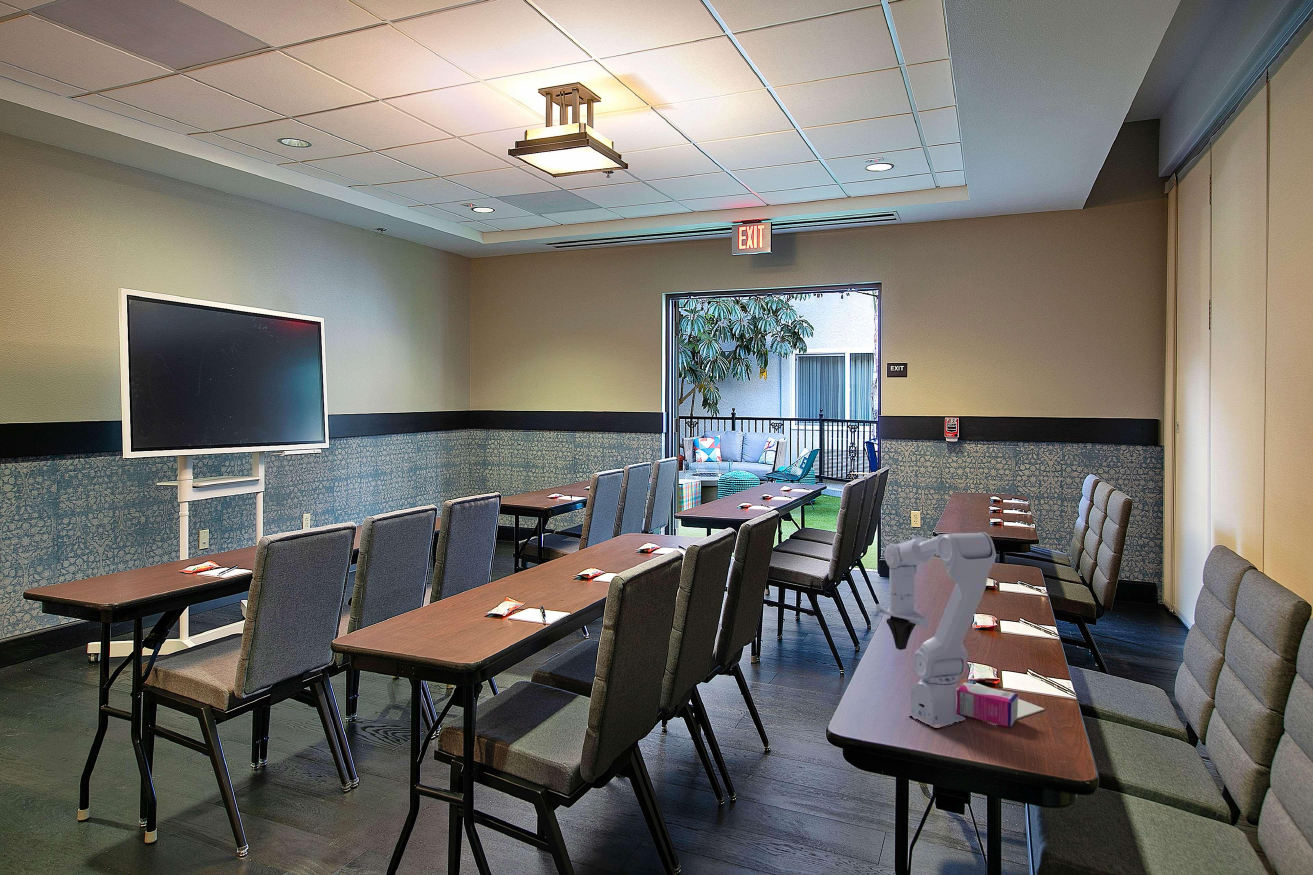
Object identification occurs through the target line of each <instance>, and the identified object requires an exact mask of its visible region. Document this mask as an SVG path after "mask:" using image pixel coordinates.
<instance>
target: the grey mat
mask: <svg viewBox="0 0 1313 875" xmlns="http://www.w3.org/2000/svg"><path fill="white" fill-rule="evenodd" d="M975 683H976V684H974V685H979V686H984V687H988V686H986V685H982V684H981V683H977V682H975ZM988 688H990V687H988ZM1042 711H1045V708H1043V707H1041V706H1038V705H1036V704H1033V703H1031V702H1028V701H1025V700H1023V699H1020V698H1018V713H1017V719H1016V720H1018V719H1021V718H1025V717H1026V716H1030V715H1034V714H1036V713H1039V712H1042ZM986 722H987V721H986ZM986 722H985V723H986ZM989 723H990V724H989ZM989 723H988V724H989V725H991V724H993V725H995V726H994V727H997V726H996V725H998V726H999V724H995V723H991V722H989ZM993 725H992V726H993Z"/></svg>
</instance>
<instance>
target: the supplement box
mask: <svg viewBox="0 0 1313 875" xmlns="http://www.w3.org/2000/svg"><path fill="white" fill-rule="evenodd" d="M984 686H985V685H983V686H979V685H974V684H973V683H969V682H966V681H965V682H963V683H962V684H961V685H960V686H959V687H957V688H958V689H957V710H956V714H958V715H959V714H960V716H963V717H964V716H965V717H968V718H971V719H972V718H973V719H976V720H979V721H982V720H983V721H982V722H984V721H987V722H991V723H995V724H999V725H1000V726H1004V727H1008V728H1011V727H1012V726H1013V724H1014V723H1015V721H1016V720H1018V719H1017V713H1018V699H1019V694H1018V693H1015V692H1010V691H1005V690H1001V689H997V688H992V687H989V688H988V686H986V687H984ZM999 725H998V726H999Z"/></svg>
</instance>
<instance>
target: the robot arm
mask: <svg viewBox="0 0 1313 875" xmlns="http://www.w3.org/2000/svg"><path fill="white" fill-rule="evenodd" d="M911 537H912V538H911V539H910V540H909V539H903V540H901V543H888V544H887V545H886V546H885V549H884V559H885V562H886V564H887V566H888V568H889V579H888V580H889V582H888V583H889V589H888V590H889V591H888V592H889V598H888V600H889V601H888V602H889V604H886V603H882V602H881V603H876V605H875V606H876V610H875V612H876V613H879V614H881V613H882V614H886V615H888V616H890V617H889V618H886V622H885V623H886V624H887V625H888V627H889V630H890V631H891V635H892V638H893V642H894V645H895V649H897V650H899V651H902V650H903V651H904V650H906V649H907V646H908V644H909V643H908V642H909V639H910V636H911V634H912V632H913V631H914V629H915V628H916V625H918V626H919V627H920V628H926V627H929V618H928V617H926V616H924V615H923V614H920V613H919V612H917V610H916V609H915V575H916V574H917V573H918V566H919V564H924V563H928V562H930V561H931V560H932V559H933V557H934V555H936V554H937V556H939V557H940V560H941V562H942V565H943V567H944V570H945V571H946V574H947V576H948V578H949V579H950V580H952V581H954V582H955V585H954V587H953V590H952V591H951V594H950V597H949V599H948V602H947V604H946V607H945V609H944V612H943V614H942V617H941V619H940V621H939V624H938V627H937V629H936V632H935V634H934V636H932V637H931V638H929V639H927V640H926V641H924V642H922V643H921V645H920V647H919V648H918V649H917V650H916V651H915V652H914V654H913V658H912V659H913V660H912V661H913V668H914V670H915V672H916V673H917V675H918V677H920V680H919V681H918V682H916V683H914V685H912V686H911V690H910V692H911V695H910V696H911V699H910V701H911V702H910V706H911V707H910V709H911V710H910V713H911V715H913V716H915V717H917V718H919V719H921V720H923V721H925V722H927V723H929V724H931V725H935V724H940V725H941V726H943V725H946V724H950V723H954V722H957V723H959V722H958V721H961V722H963V720H964V721H966V716H965V717H964V716H963V715H959V714H957V710H956V705H957V688H958V687H957V686H958V682H957V681H960V680H961V676H962V675H963V674H964V673H965V671H966V668H967V658H968V656H969V653H968V651H967V649H966V648H965V646H964V644H963V641H964V639H965V637H966V634H967V632H968V630H969V628H970V625H971V623H972V621H973V618H974V616H975V613H976V611H977V609H978V607H979V604H980V602H981V599H982V597H983V595H984V593H985V590H986V587H987V582H988V578H989V577H988V576H989V574H990V572H991V569H992V567H993V565H994V562H995V560H996V558H997V551H996V548H995V544H994V542H993V539H992V537H991V536H990V535H989V534H988V533H987V532H984V531H980V532H962V533H960V532H958V533H942V534H938V535H937V536H934V537H932V538H930V539H928V538H926V537H923V536H921V535H913V536H911ZM942 723H943V725H942ZM954 724H955V723H954Z"/></svg>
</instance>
